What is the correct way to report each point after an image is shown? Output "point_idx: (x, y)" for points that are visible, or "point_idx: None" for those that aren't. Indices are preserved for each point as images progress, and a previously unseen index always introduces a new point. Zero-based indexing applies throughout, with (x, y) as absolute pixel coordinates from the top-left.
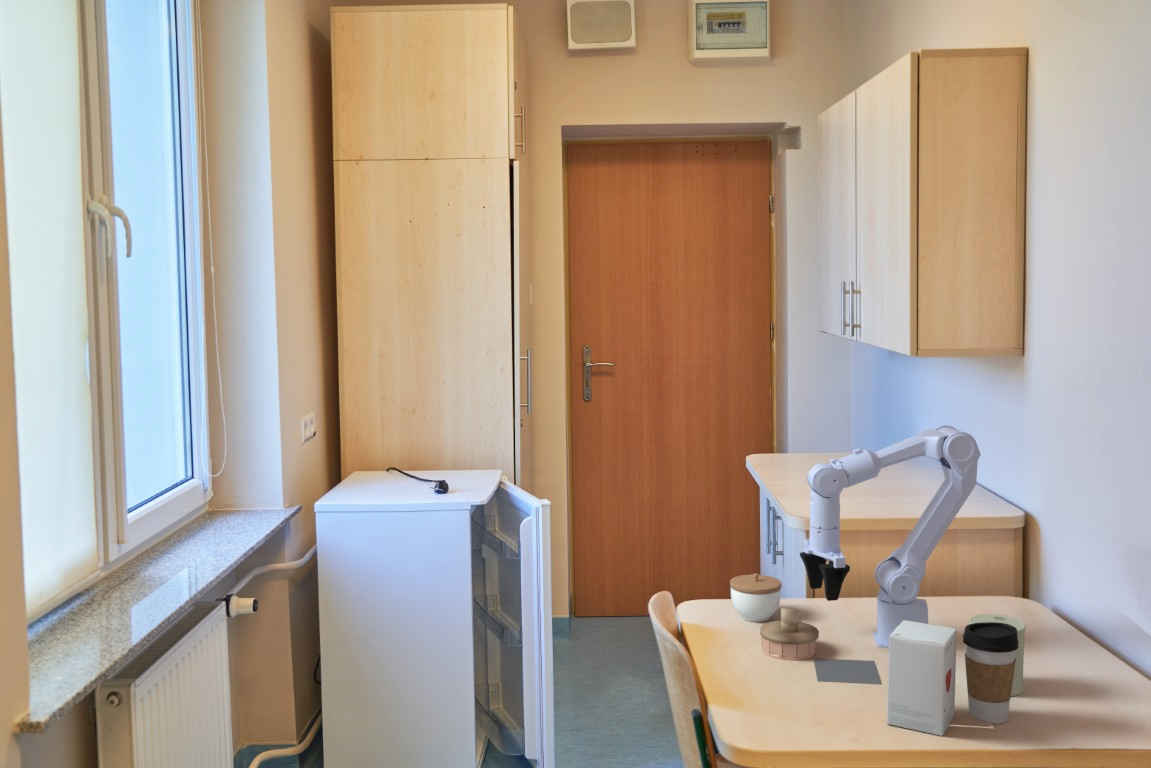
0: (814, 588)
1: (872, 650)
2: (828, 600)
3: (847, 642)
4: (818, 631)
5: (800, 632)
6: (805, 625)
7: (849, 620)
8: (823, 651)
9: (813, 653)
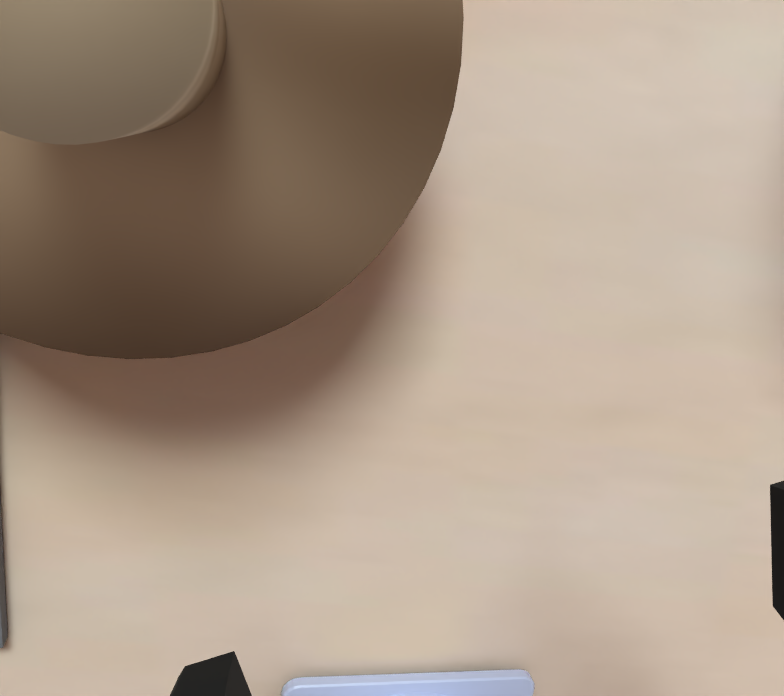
0: (774, 524)
1: (255, 644)
2: (181, 676)
3: (401, 518)
4: (110, 354)
5: (47, 151)
6: (301, 247)
7: None
8: None
9: None
